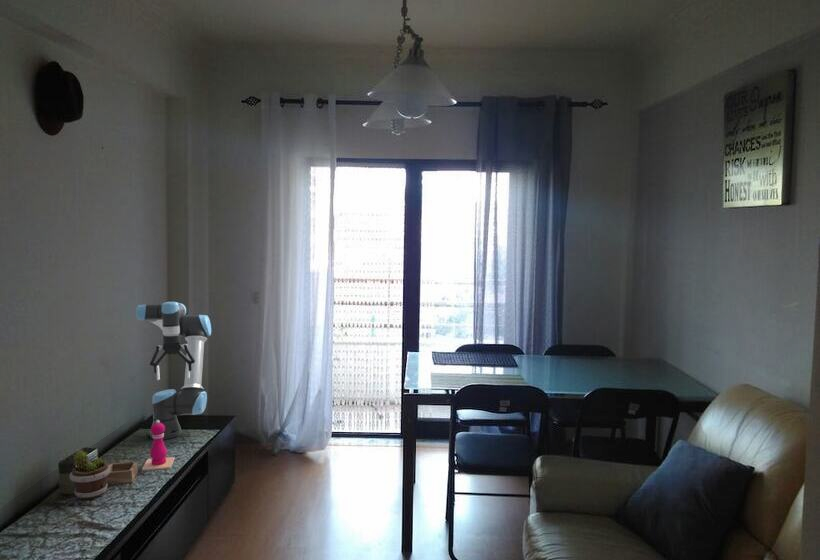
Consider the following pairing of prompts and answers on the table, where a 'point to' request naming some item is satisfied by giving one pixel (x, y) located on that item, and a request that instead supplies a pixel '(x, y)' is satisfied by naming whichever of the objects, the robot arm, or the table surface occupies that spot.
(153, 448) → the pepper mill
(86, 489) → the flowerpot
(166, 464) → the plate
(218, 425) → the table surface
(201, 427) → the table surface
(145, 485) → the table surface
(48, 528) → the table surface
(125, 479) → the wooden box
